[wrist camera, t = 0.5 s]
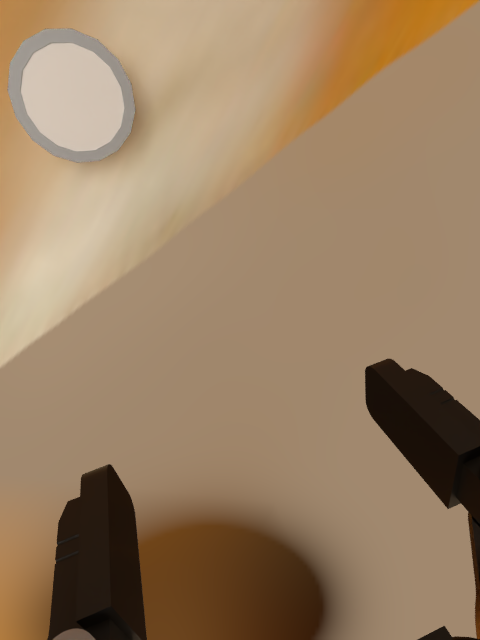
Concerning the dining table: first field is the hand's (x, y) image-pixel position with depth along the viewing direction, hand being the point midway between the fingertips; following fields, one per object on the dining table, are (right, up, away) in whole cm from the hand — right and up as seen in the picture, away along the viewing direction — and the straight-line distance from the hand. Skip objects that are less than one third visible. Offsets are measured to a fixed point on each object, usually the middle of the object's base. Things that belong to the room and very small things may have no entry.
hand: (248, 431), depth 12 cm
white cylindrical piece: (-12, +20, +17) cm, 28 cm away
